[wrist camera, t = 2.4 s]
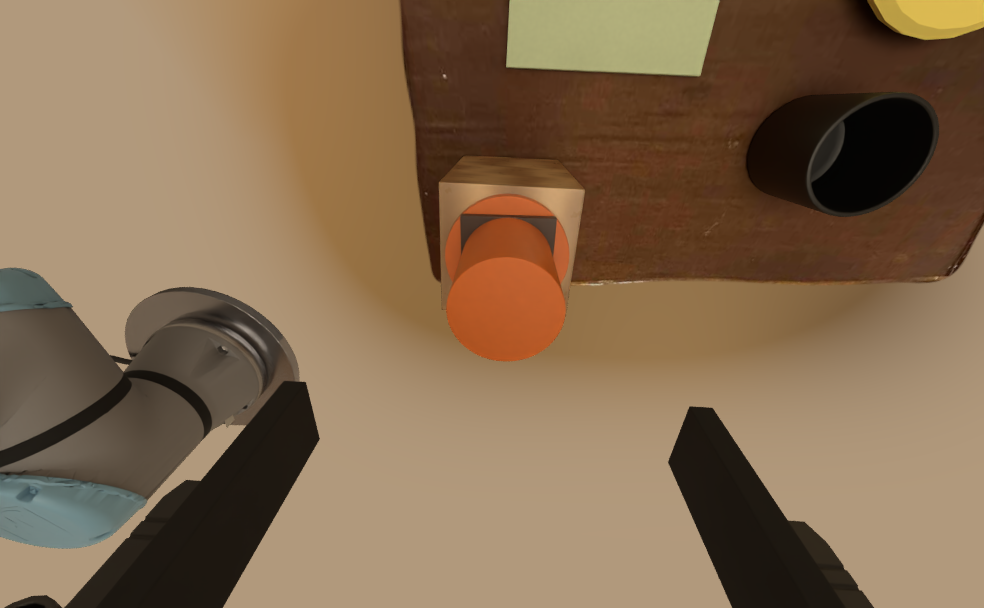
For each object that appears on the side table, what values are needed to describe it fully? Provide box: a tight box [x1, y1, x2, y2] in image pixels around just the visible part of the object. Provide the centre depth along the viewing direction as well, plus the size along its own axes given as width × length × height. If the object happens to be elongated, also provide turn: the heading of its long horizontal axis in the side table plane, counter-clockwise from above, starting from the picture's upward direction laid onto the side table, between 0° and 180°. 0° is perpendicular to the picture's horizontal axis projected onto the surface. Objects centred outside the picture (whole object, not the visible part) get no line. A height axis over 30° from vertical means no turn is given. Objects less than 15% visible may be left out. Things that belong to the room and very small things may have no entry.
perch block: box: [439, 155, 585, 316], centre depth 35 cm, size 10×10×16 cm
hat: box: [445, 194, 569, 361], centre depth 24 cm, size 9×9×9 cm
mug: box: [748, 92, 939, 217], centre depth 34 cm, size 9×12×9 cm
